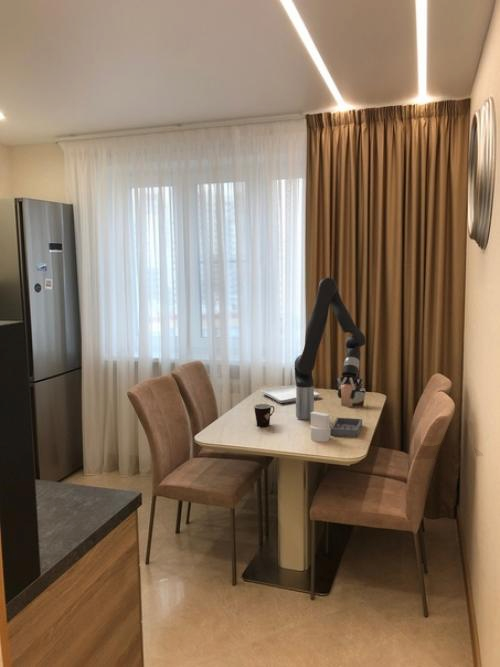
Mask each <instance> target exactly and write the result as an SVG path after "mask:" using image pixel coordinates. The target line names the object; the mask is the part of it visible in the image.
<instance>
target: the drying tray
mask: <svg viewBox="0 0 500 667" xmlns="http://www.w3.org/2000/svg"><path fill="white" fill-rule="evenodd" d="M362 427H363V418H356V417H355V418H352V417H339V416H337V417H336V419H335V420H334V422H333V424H332V425H331V427H330V436H334V437H345V438H346V437H347V438H358V437H359V434H360V432H361V430H362Z"/></svg>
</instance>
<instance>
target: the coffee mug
mask: <svg viewBox="0 0 500 667" xmlns="http://www.w3.org/2000/svg"><path fill="white" fill-rule="evenodd" d="M253 408H254V414H255V422H256V426H257V427H258V426H260V427H259V428H267V427H269V426H270V420H271V416H272V415H273V414H274V412H275V406H273V405H271V404H268V403H258V404H255V405H254V406H253ZM271 411H272V412H271Z"/></svg>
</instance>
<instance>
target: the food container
mask: <svg viewBox="0 0 500 667" xmlns="http://www.w3.org/2000/svg"><path fill="white" fill-rule="evenodd" d="M354 387H355V388H357V386H354ZM352 390H353V389H352ZM366 394H367V391H366V389H365V388H362V387H361V389H360V391H359V392H358V391H357V392H355V397H354V398H353V399H352V406H350V407H349V408H364V406H365V398H366V397H365V396H366Z"/></svg>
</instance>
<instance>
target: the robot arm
mask: <svg viewBox="0 0 500 667" xmlns="http://www.w3.org/2000/svg"><path fill="white" fill-rule="evenodd" d="M318 283H319V284H318V289H317V295H316V299H315V302H314V305H313V308H312V311H311V313H310V315H309V319H308V321H307V325H306V327H305V328H306V329H305V336H304V346H303V349H302V353H301V354H300V355H298V356H296V358H295V361H294V379H295V385H296V401H295V417H296V419H297V420H304V421H305V420H306V421H307V420H311V415H310V413H311V412H315V398H314V391H315V387H314V386H315V384H314V383H315V382H314V378H313V371H314V370H315V367H316V362H317V361H316V360H317V356H318V351H319V348H320V346H321V342H322V339H323V335H324V332H325V330H326V326H327V322H328V318H329V309H330V306H331V308H332V311H333V314H334V316H335V318H336V320H337V323H338V325H339V328H340V329H341V330H342V332H343V333H345V334H347V333H349V334H351V336H348V337H347V338H346V339H345V342H344V343H345V352H346V354H345V359H344V362H343V369H342V372H341V377H334V387H335V390H336V391H338V392H337V397H338V398H339V399H341V384H351V385H352V389H353V390H352V393H351V399H353V398H354V397H355V392H357V391H358V392H359V391H360V389H361V388H362V386H363V384H364V381H363V379H362V378H360V379H359V378H358V374H359V370H360V360H361V351H360V350H359V348H361V347H364V346H365V345H366V342H367V338H366V336H365V335H364V333H363V332H362V331H361V330H360V329H359V327H358V326H357V325H356V323H355V322H354V320H353V318H352V316H351V314H350V313H349V310H348V309H347V307H346V305H345V304H344V302H343V299H342V298H341V295H340V292H339V288H338V284H337V282H336V280H334V278H332V277H324V278H323V279H321V280H320V281H319V282H318ZM339 383H340V385H339ZM355 384H357V386H355ZM355 387H357V388H355Z"/></svg>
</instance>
